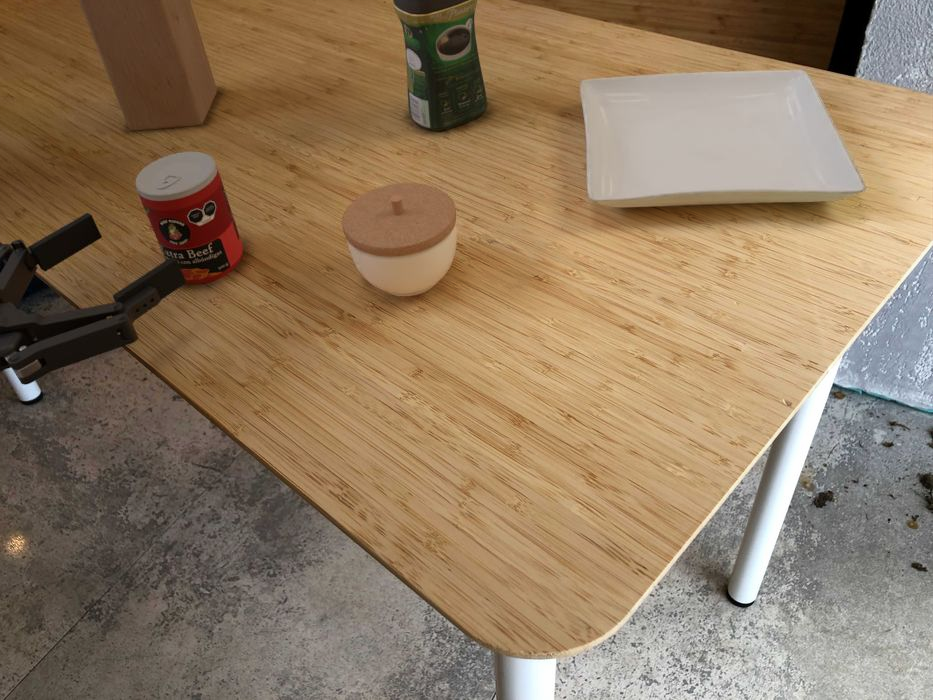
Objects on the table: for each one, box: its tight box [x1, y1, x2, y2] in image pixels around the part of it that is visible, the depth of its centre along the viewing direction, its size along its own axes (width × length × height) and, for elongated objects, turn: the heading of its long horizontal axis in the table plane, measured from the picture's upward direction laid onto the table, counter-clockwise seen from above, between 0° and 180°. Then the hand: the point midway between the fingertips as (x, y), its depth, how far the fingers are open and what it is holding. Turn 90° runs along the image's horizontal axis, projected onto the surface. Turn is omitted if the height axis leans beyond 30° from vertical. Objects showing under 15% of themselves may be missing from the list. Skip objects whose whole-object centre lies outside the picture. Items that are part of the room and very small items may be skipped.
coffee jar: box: [392, 0, 488, 132], centre depth 102 cm, size 10×8×19 cm
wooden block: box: [78, 0, 218, 132], centre depth 109 cm, size 10×10×20 cm
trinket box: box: [341, 182, 458, 297], centre depth 81 cm, size 11×11×9 cm
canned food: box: [134, 151, 244, 285], centre depth 86 cm, size 8×8×11 cm
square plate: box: [579, 69, 867, 208], centre depth 95 cm, size 27×27×4 cm
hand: (135, 246), depth 81 cm, fingers open, 13 cm apart
